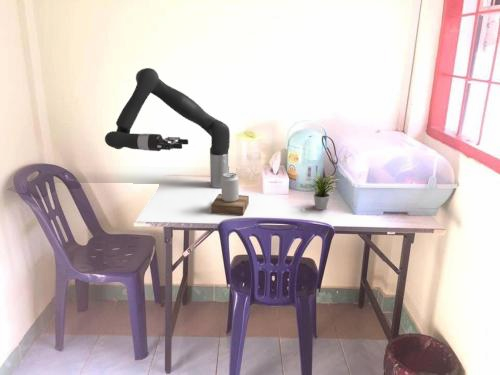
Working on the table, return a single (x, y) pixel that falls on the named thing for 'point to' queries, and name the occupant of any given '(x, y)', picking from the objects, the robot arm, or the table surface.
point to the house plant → (322, 191)
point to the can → (230, 187)
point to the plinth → (230, 205)
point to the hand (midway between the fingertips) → (185, 144)
